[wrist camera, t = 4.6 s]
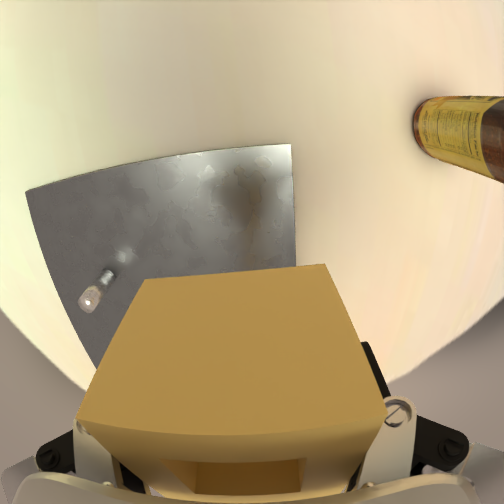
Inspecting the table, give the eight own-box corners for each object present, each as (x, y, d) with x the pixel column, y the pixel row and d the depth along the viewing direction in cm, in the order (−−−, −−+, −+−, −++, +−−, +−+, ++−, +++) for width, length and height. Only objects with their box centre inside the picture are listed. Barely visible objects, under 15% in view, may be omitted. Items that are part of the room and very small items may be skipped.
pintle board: (27, 190, 23) (-6, 207, 18) (289, 143, 23) (301, 149, 17) (105, 380, 36) (94, 408, 31) (294, 381, 35) (299, 415, 30)
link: (144, 279, 10) (75, 417, 4) (324, 263, 10) (388, 413, 4) (225, 468, 18) (223, 531, 12) (306, 463, 18) (313, 527, 12)
